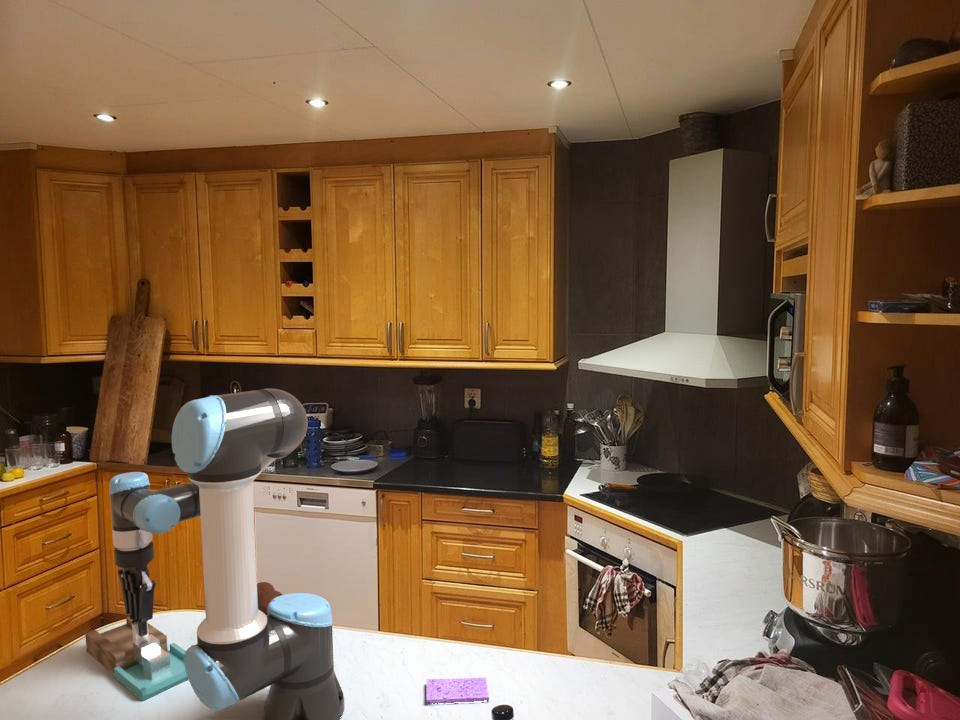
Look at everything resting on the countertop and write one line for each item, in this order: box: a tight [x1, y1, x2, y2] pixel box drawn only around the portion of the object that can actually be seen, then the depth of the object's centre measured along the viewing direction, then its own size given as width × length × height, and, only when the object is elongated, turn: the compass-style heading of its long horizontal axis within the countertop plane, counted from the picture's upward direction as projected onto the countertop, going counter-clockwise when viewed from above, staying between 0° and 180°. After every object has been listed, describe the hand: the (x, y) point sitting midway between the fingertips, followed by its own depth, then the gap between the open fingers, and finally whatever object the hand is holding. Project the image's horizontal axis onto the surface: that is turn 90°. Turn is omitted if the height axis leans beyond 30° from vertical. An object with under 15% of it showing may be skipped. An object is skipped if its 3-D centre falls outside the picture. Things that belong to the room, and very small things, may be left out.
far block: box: [133, 634, 160, 666], centre depth 146 cm, size 4×4×4 cm
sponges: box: [425, 676, 490, 705], centre depth 137 cm, size 7×13×2 cm, turn 94°
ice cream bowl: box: [257, 581, 283, 615], centre depth 154 cm, size 11×11×15 cm
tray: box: [113, 642, 189, 702], centre depth 144 cm, size 13×13×2 cm
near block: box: [142, 648, 171, 680], centre depth 144 cm, size 4×4×4 cm
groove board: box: [84, 615, 169, 675], centre depth 153 cm, size 16×11×4 cm
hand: (141, 647), depth 148 cm, fingers closed
